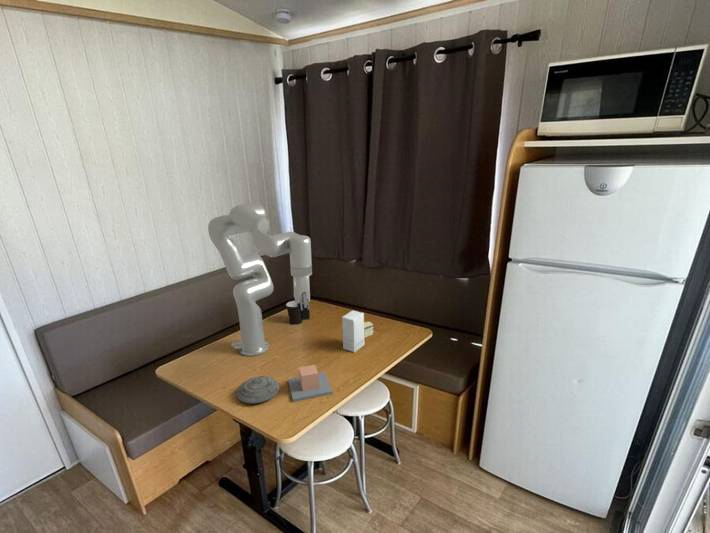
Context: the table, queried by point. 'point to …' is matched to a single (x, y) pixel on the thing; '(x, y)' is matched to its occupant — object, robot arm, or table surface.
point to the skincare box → (353, 331)
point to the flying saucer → (258, 389)
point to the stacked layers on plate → (368, 329)
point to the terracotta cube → (309, 377)
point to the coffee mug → (293, 313)
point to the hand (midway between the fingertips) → (303, 313)
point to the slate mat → (302, 395)
